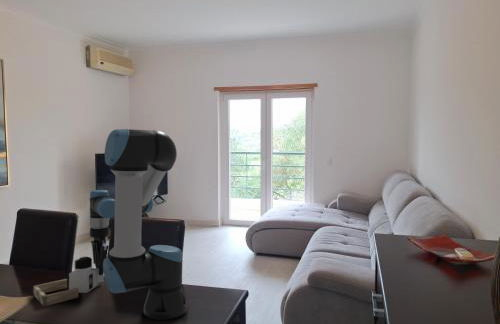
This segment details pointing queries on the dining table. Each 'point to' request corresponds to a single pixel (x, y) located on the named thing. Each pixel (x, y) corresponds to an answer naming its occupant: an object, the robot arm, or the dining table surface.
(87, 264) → the container
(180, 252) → the robot arm
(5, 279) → the dining table surface
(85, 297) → the dining table surface
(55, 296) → the corral
